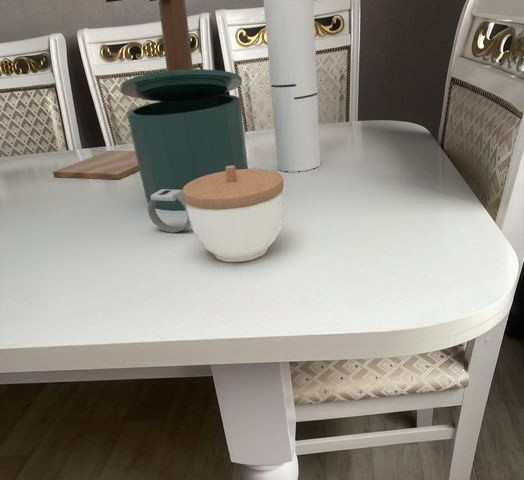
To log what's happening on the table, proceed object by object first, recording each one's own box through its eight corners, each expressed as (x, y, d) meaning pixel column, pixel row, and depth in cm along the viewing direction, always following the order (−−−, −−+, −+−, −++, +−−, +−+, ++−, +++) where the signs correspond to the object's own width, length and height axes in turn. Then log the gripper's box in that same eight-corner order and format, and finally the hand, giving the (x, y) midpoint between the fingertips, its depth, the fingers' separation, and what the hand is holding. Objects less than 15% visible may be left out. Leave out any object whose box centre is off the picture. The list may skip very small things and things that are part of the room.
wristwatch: (200, 228, 67) (194, 189, 64) (189, 236, 65) (182, 196, 62) (160, 226, 70) (152, 188, 67) (148, 233, 68) (140, 195, 65)
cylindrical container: (281, 161, 92) (267, -11, 78) (322, 159, 90) (315, -17, 77) (274, 172, 86) (257, -11, 72) (317, 170, 84) (309, -18, 71)
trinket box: (278, 228, 64) (271, 148, 59) (298, 261, 55) (291, 171, 50) (191, 242, 63) (177, 162, 58) (197, 278, 54) (180, 188, 49)
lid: (95, 97, 71) (79, 2, 68) (174, 107, 85) (164, 29, 82) (193, 73, 63) (181, -36, 59) (264, 89, 76) (257, 1, 73)
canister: (125, 207, 78) (103, 117, 72) (184, 176, 90) (170, 97, 83) (215, 213, 72) (200, 114, 65) (266, 179, 83) (258, 93, 76)
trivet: (54, 177, 100) (52, 171, 99) (109, 155, 111) (108, 150, 111) (119, 179, 93) (117, 173, 92) (170, 156, 105) (169, 151, 104)
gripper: (66, -331, 41) (130, -4, 52) (168, -223, 61) (199, -4, 73) (-18, -308, 42) (62, 5, 54) (109, -210, 63) (148, 2, 74)
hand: (141, 0), depth 63 cm, fingers open, 13 cm apart
